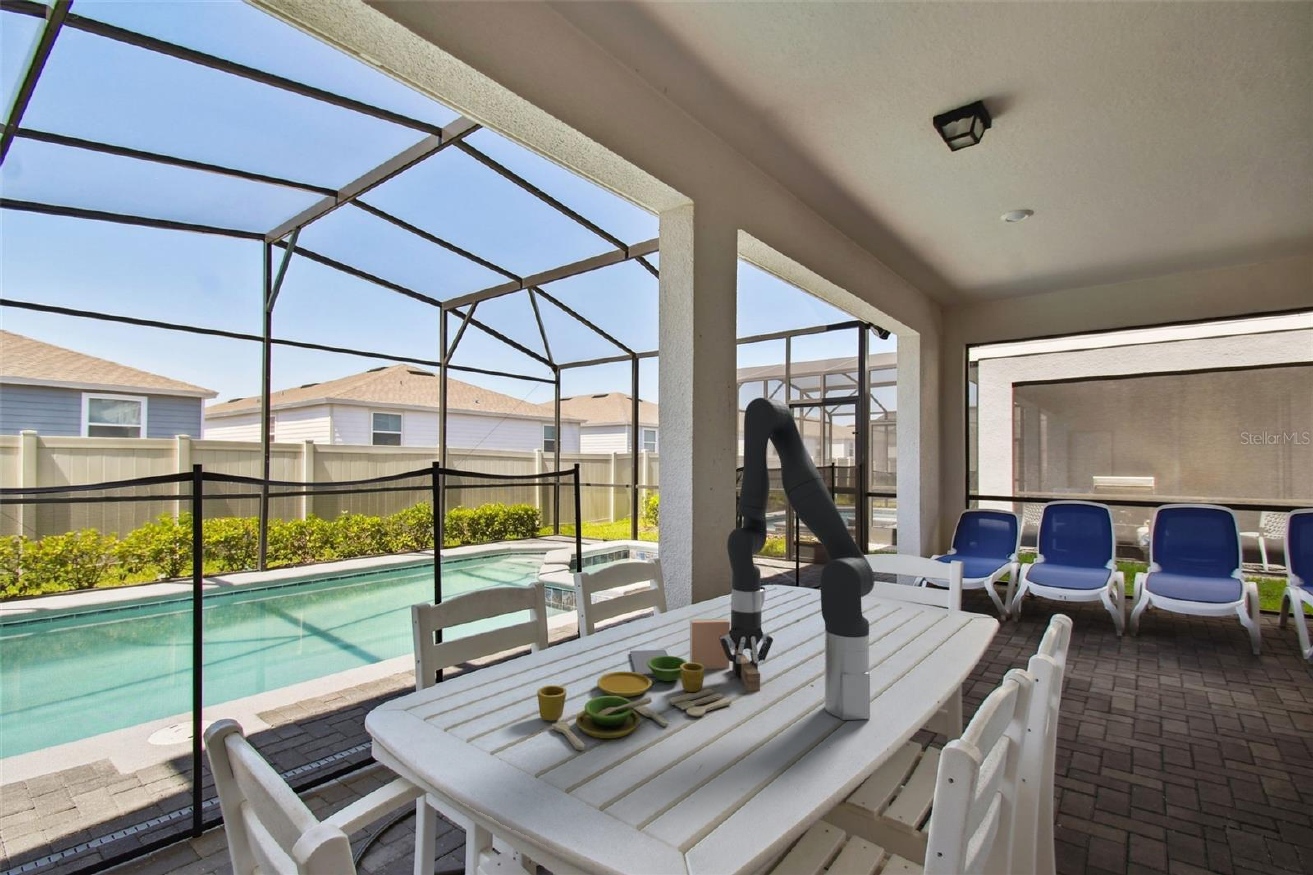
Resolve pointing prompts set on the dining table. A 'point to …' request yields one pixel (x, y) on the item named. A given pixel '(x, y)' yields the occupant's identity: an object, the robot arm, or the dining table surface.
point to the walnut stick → (749, 675)
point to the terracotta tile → (708, 642)
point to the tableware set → (617, 712)
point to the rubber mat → (645, 660)
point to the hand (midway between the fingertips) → (745, 677)
